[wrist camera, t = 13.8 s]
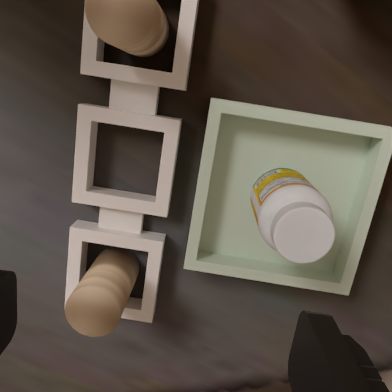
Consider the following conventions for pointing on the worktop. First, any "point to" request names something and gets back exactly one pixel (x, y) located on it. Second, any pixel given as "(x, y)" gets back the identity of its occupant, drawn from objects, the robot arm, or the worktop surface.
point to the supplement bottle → (292, 215)
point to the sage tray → (297, 160)
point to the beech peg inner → (129, 25)
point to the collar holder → (117, 199)
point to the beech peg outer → (103, 292)
